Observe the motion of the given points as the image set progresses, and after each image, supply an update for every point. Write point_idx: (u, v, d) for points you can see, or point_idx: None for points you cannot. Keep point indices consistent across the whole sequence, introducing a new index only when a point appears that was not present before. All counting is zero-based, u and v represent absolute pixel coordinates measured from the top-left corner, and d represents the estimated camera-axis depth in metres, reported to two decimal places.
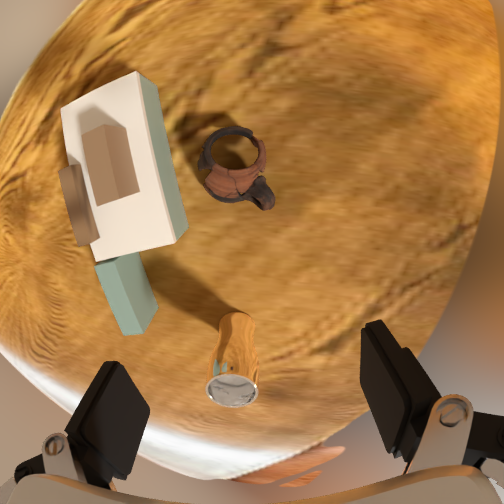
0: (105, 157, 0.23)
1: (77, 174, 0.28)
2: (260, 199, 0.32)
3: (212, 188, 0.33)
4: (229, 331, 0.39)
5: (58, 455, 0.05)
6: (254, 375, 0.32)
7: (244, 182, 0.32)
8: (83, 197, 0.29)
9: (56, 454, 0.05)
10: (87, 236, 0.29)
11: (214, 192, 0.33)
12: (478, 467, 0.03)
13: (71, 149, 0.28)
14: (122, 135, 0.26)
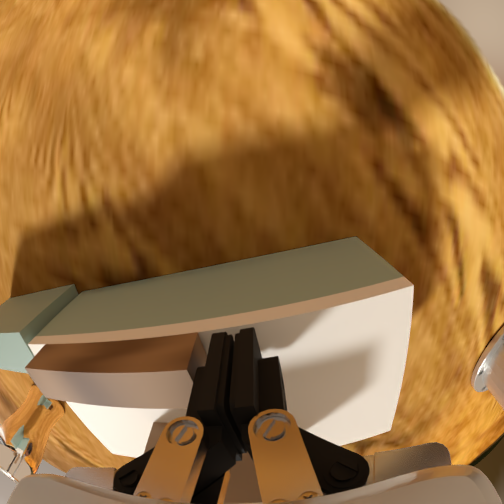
0: None
1: None
2: None
3: None
4: (42, 426, 0.21)
5: (179, 447, 0.05)
6: None
7: None
8: None
9: (178, 443, 0.06)
10: (52, 395, 0.10)
11: None
12: None
13: (273, 338, 0.11)
14: None
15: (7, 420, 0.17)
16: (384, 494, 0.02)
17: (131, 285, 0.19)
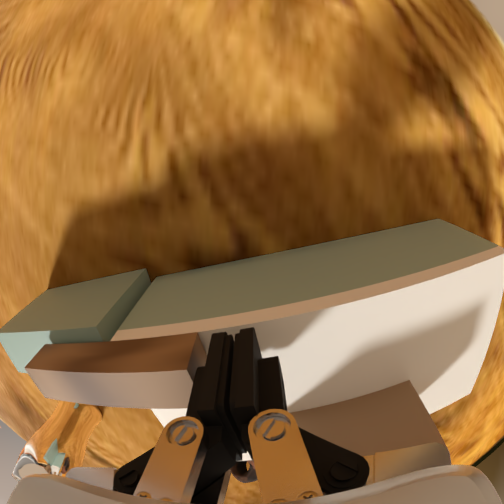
0: None
1: None
2: (245, 479, 0.20)
3: None
4: (80, 436, 0.20)
5: (179, 447, 0.05)
6: None
7: None
8: None
9: (177, 443, 0.06)
10: (52, 396, 0.10)
11: None
12: None
13: (427, 298, 0.11)
14: None
15: (38, 433, 0.17)
16: (384, 494, 0.02)
17: (228, 265, 0.18)
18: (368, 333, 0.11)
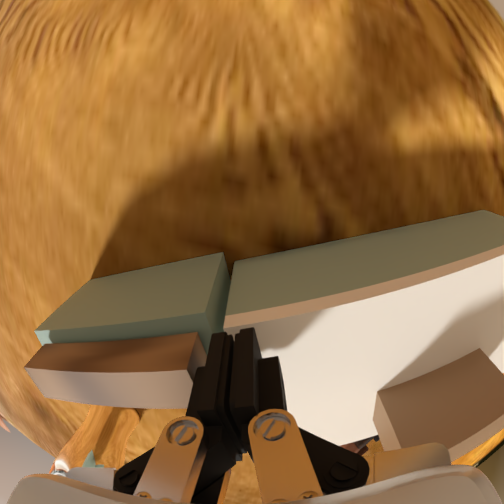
0: (467, 450, 0.08)
1: None
2: None
3: None
4: (120, 443, 0.20)
5: (179, 447, 0.05)
6: None
7: None
8: None
9: (177, 443, 0.06)
10: (52, 395, 0.10)
11: None
12: None
13: (501, 270, 0.10)
14: None
15: (72, 443, 0.16)
16: (384, 494, 0.02)
17: (316, 247, 0.18)
18: (463, 301, 0.11)
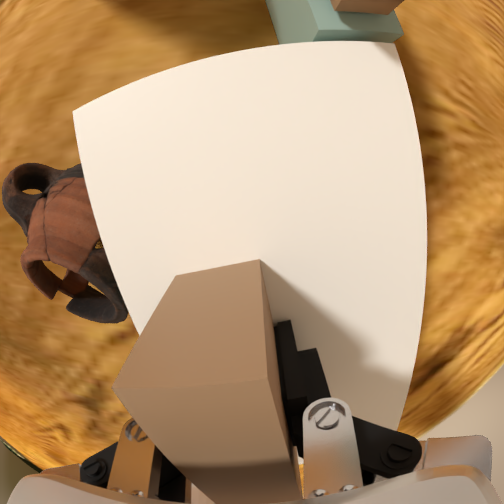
0: (207, 484, 0.06)
1: None
2: (10, 193, 0.10)
3: None
4: None
5: (138, 443, 0.06)
6: None
7: (34, 225, 0.11)
8: None
9: (136, 440, 0.06)
10: None
11: None
12: (370, 478, 0.05)
13: (395, 385, 0.12)
14: None
15: None
16: (384, 494, 0.02)
17: None
18: (383, 345, 0.11)
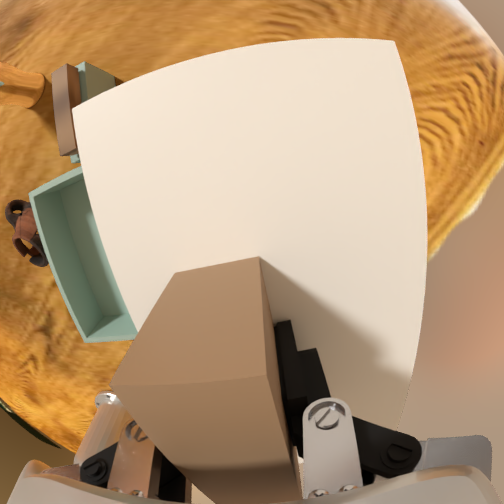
0: (206, 483, 0.06)
1: None
2: (8, 213, 0.27)
3: None
4: (13, 101, 0.23)
5: (138, 443, 0.06)
6: None
7: (17, 225, 0.28)
8: None
9: (137, 440, 0.06)
10: (53, 79, 0.18)
11: None
12: (370, 478, 0.05)
13: (395, 384, 0.12)
14: None
15: (13, 71, 0.19)
16: (384, 494, 0.02)
17: None
18: (384, 343, 0.11)
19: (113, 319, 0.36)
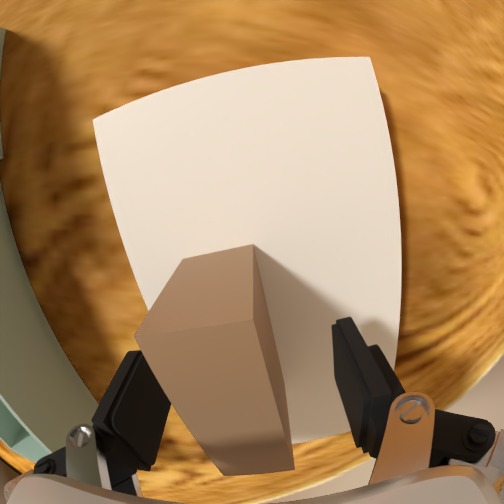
0: (207, 437, 0.08)
1: None
2: None
3: None
4: None
5: (82, 448, 0.05)
6: None
7: None
8: None
9: (80, 446, 0.05)
10: None
11: None
12: None
13: None
14: None
15: None
16: (384, 494, 0.02)
17: (11, 252, 0.12)
18: (366, 323, 0.12)
19: None
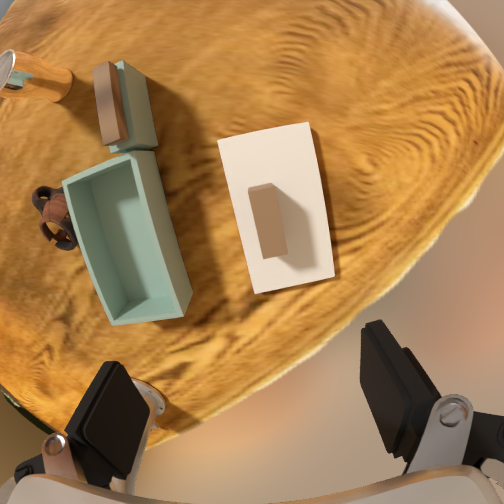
0: (260, 230, 0.31)
1: None
2: (36, 198, 0.31)
3: (65, 200, 0.32)
4: (43, 94, 0.26)
5: (58, 455, 0.05)
6: None
7: (45, 210, 0.32)
8: None
9: (56, 454, 0.05)
10: (94, 74, 0.22)
11: None
12: (478, 467, 0.03)
13: (322, 234, 0.37)
14: None
15: (45, 65, 0.22)
16: (384, 494, 0.02)
17: (161, 189, 0.36)
18: (312, 213, 0.36)
19: (139, 303, 0.40)
